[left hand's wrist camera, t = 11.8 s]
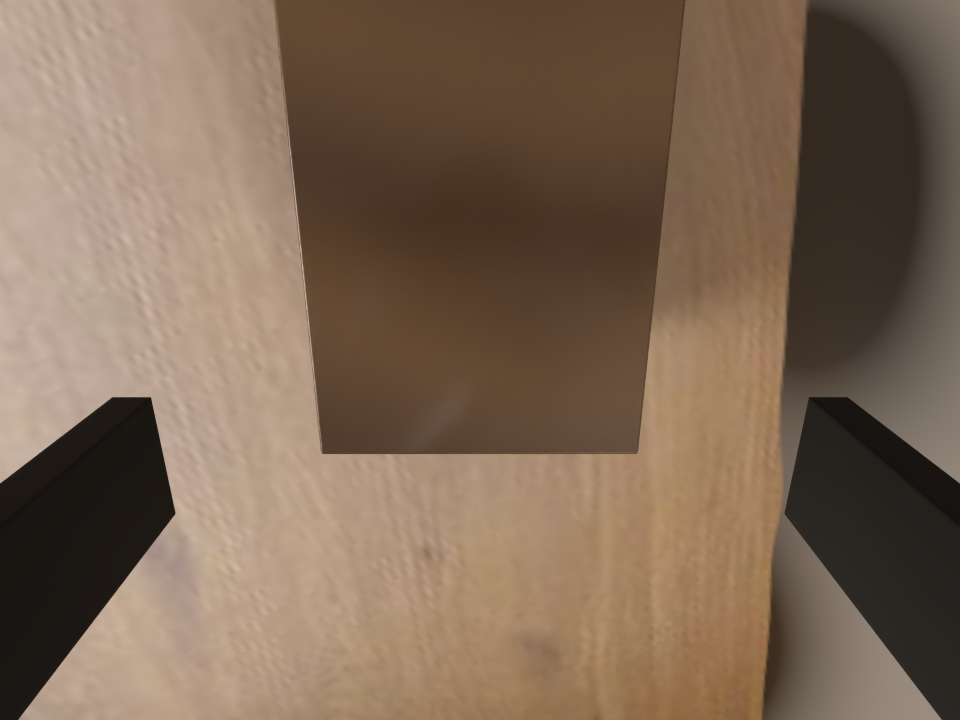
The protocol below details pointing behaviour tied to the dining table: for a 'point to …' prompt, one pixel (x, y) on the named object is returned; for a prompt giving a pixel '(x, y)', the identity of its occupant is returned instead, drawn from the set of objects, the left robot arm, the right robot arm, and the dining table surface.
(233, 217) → the dining table surface
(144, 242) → the dining table surface
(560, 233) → the cabinet
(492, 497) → the dining table surface
